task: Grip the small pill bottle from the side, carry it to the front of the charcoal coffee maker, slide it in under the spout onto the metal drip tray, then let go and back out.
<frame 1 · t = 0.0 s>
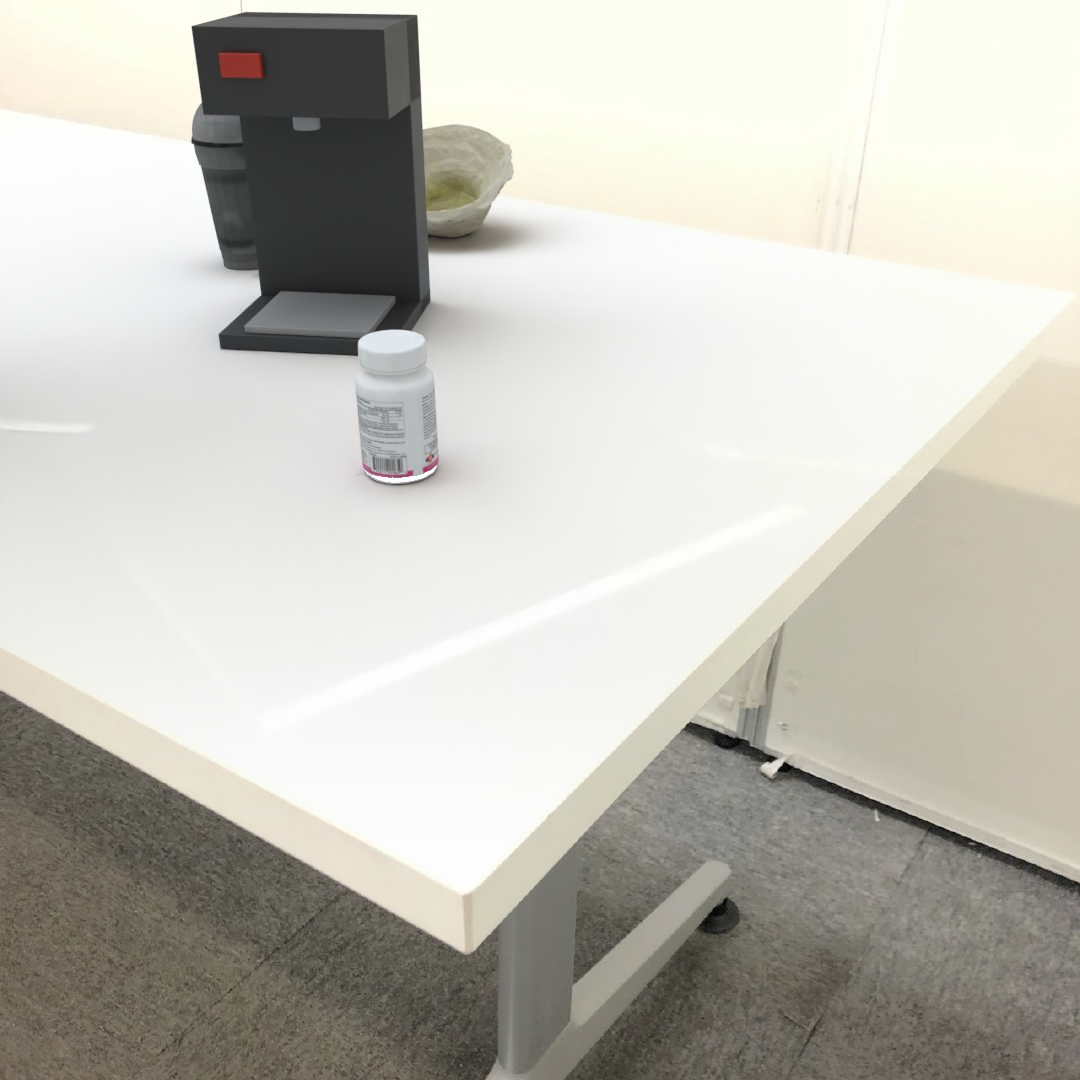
pill bottle: (400, 471, 70), on the table
coffee maker: (331, 323, 94), on the table
bowl: (445, 236, 118), on the table
beverage cup: (247, 265, 109), on the table
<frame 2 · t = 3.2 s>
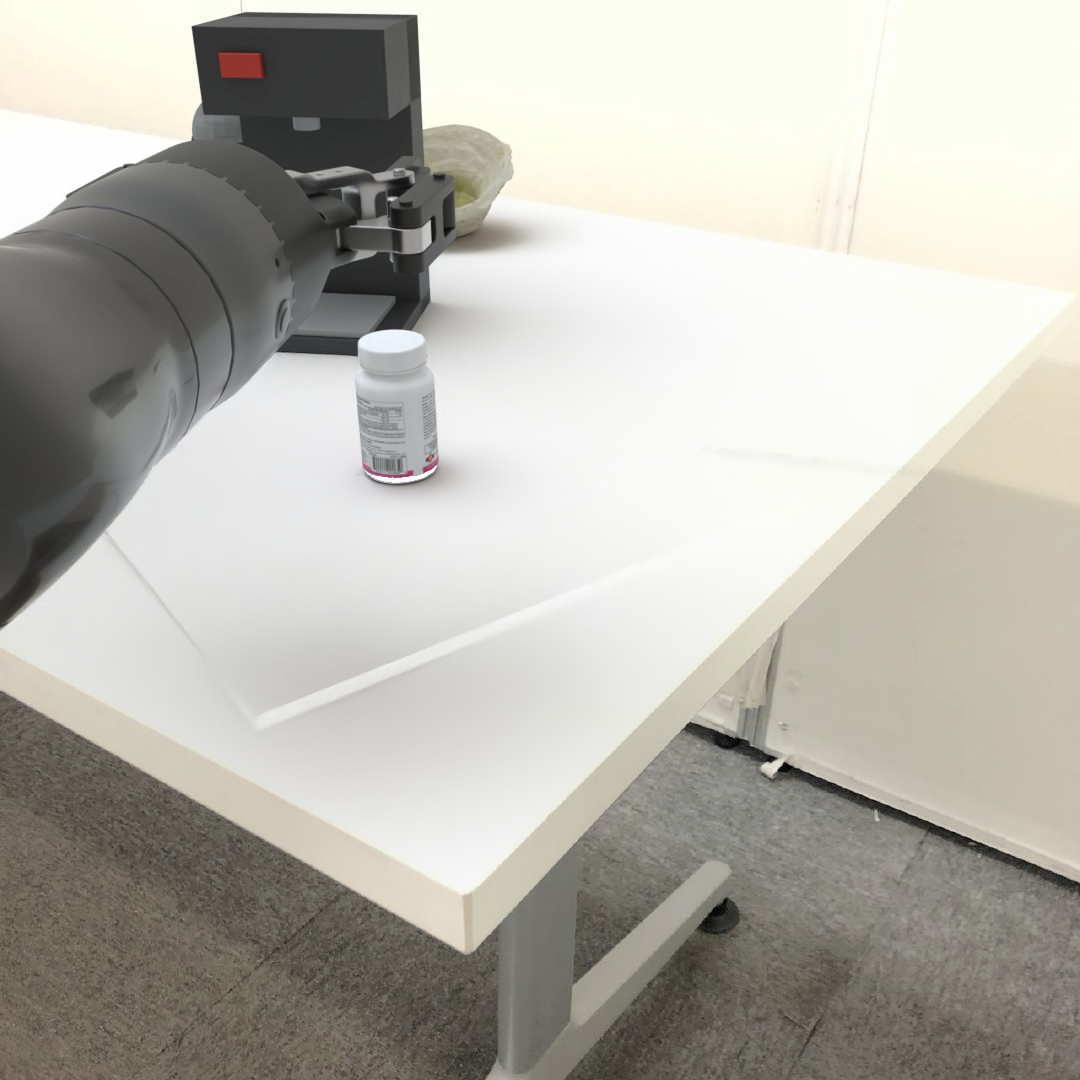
hand: (320, 176, 51), 20 cm above the table, tool horizontal, fingers open, 8 cm apart
nothing on the table moved.
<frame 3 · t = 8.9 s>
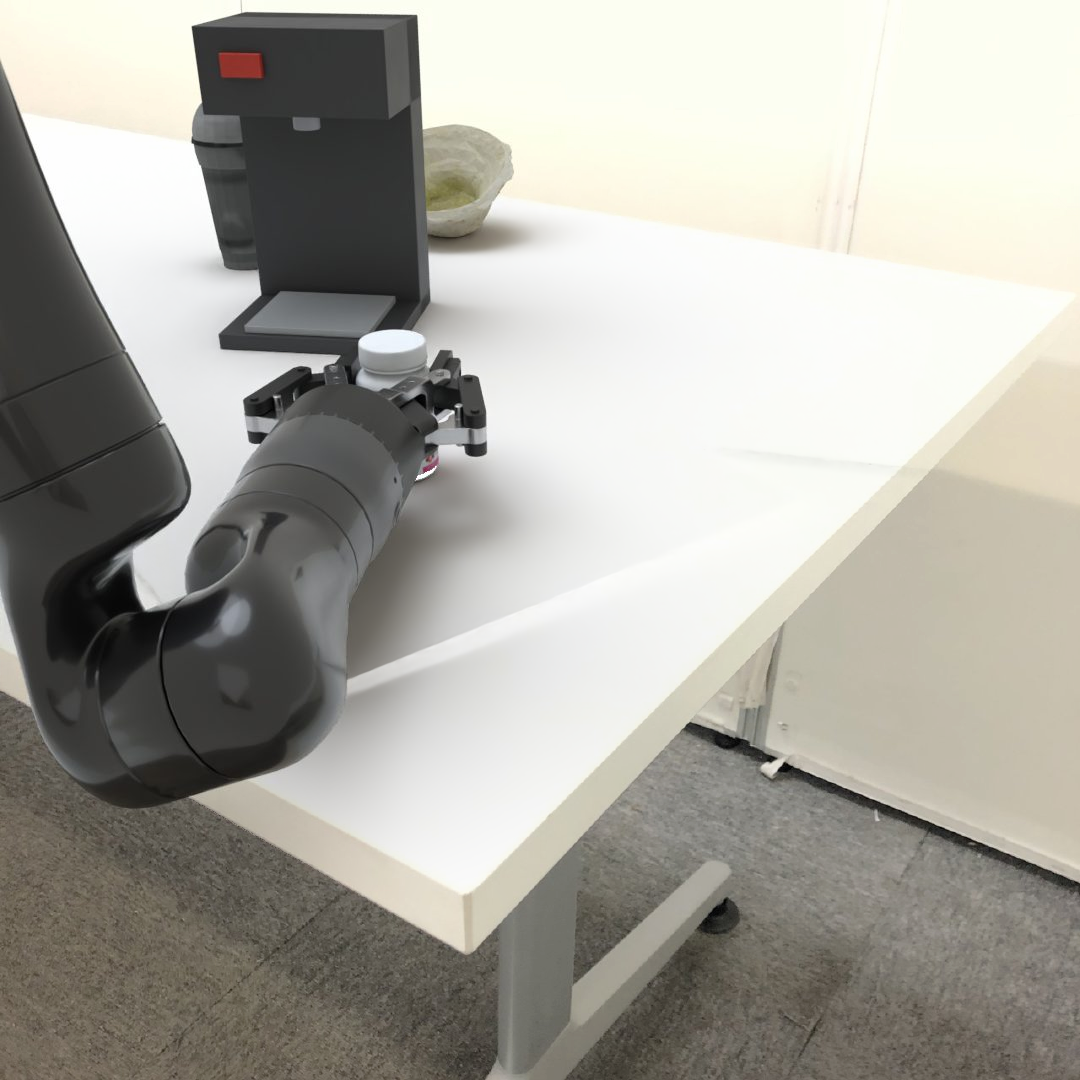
hand: (404, 362, 70), 6 cm above the table, tool horizontal, fingers closed on pill bottle, 4 cm apart
pill bottle: (400, 471, 70), on the table, touching gripper
everything else where it was.
when the fingers open (8 cm above the table, at t = 19.6 s): pill bottle stays where it is, resting on coffee maker.
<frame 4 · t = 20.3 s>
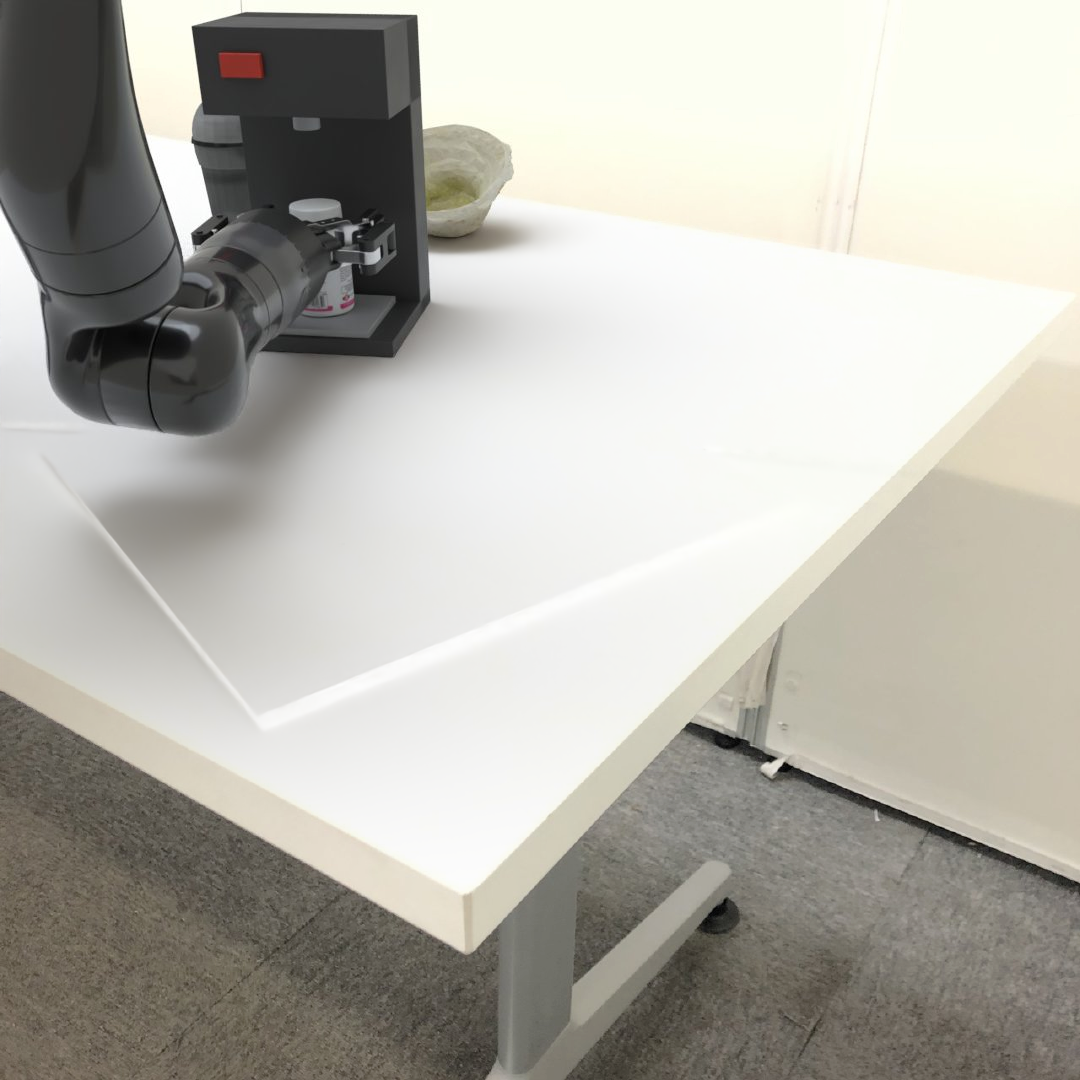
hand: (322, 219, 90), 9 cm above the table, tool horizontal, fingers open, 8 cm apart
pill bottle: (325, 311, 92), point 2 cm above the table, touching coffee maker
everything else where it was.
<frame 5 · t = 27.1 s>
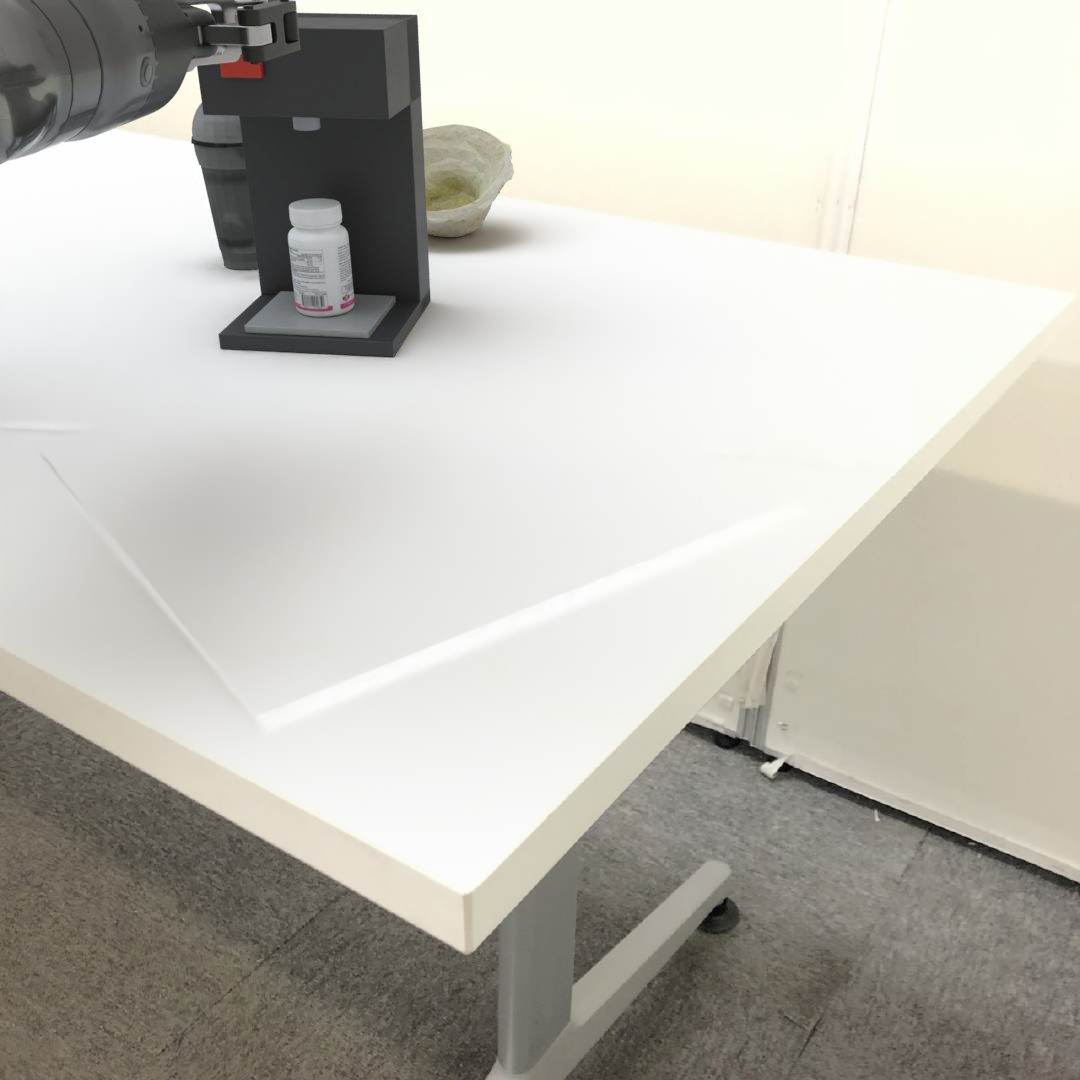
hand: (206, 15, 66), 25 cm above the table, tool horizontal, fingers open, 8 cm apart
nothing on the table moved.
at the end: pill bottle inside the target area on the coffee maker (0.2 cm from its centre), point 1.6 cm above the coffee maker's base; pill bottle tilted 0°; the gripper is holding nothing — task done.
